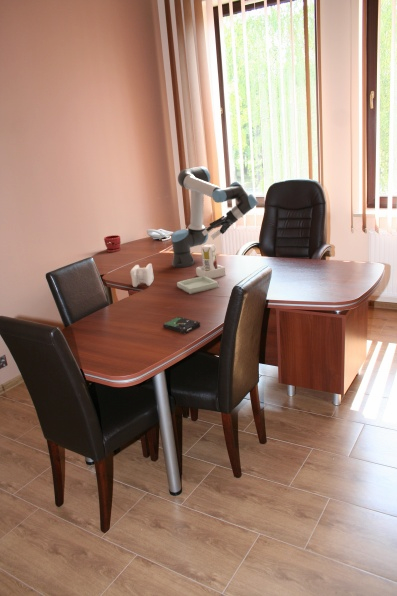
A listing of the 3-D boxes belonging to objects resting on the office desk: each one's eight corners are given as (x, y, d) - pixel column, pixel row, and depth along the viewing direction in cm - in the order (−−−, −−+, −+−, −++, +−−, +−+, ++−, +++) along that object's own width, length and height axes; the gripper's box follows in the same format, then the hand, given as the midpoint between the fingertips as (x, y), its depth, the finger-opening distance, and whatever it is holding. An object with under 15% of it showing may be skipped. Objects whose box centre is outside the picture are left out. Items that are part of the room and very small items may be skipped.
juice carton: (203, 277, 304) (199, 247, 298) (207, 273, 311) (204, 244, 305) (214, 277, 301) (211, 247, 295) (218, 273, 309) (215, 243, 303)
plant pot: (104, 253, 401) (101, 239, 397) (109, 249, 413) (107, 235, 409) (119, 252, 398) (116, 237, 395) (124, 248, 411) (121, 234, 407)
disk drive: (200, 327, 228) (178, 321, 238) (200, 321, 227) (177, 316, 237) (185, 335, 221) (163, 328, 231) (184, 329, 220) (162, 323, 230)
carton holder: (196, 275, 310) (195, 267, 308) (215, 270, 315) (214, 263, 313) (206, 279, 298) (205, 271, 296) (225, 275, 303) (224, 267, 301)
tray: (177, 286, 290) (176, 282, 289) (204, 280, 297) (204, 275, 296) (190, 294, 275) (189, 289, 274) (218, 287, 281) (217, 282, 281)
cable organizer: (149, 287, 295) (146, 269, 292) (132, 288, 297) (129, 270, 293) (154, 280, 309) (151, 262, 306) (138, 281, 311) (135, 263, 307)
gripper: (230, 214, 283) (202, 237, 289) (244, 223, 306) (218, 244, 312) (224, 205, 285) (196, 227, 291) (238, 214, 308) (212, 234, 314)
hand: (207, 236), depth 302 cm, fingers open, 13 cm apart
